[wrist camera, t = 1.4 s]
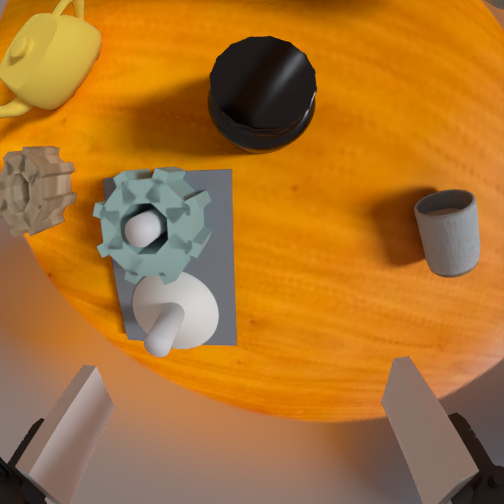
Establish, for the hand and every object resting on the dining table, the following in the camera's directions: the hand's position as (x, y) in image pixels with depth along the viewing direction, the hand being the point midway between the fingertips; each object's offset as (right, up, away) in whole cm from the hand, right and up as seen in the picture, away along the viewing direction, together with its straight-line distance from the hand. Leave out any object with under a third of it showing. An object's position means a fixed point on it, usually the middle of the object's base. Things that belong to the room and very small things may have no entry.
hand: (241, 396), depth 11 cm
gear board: (-9, +5, +21) cm, 23 cm away
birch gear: (-26, +14, +18) cm, 35 cm away
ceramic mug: (+24, +10, +19) cm, 32 cm away
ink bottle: (+1, +20, +16) cm, 26 cm away
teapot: (-23, +29, +14) cm, 39 cm away
